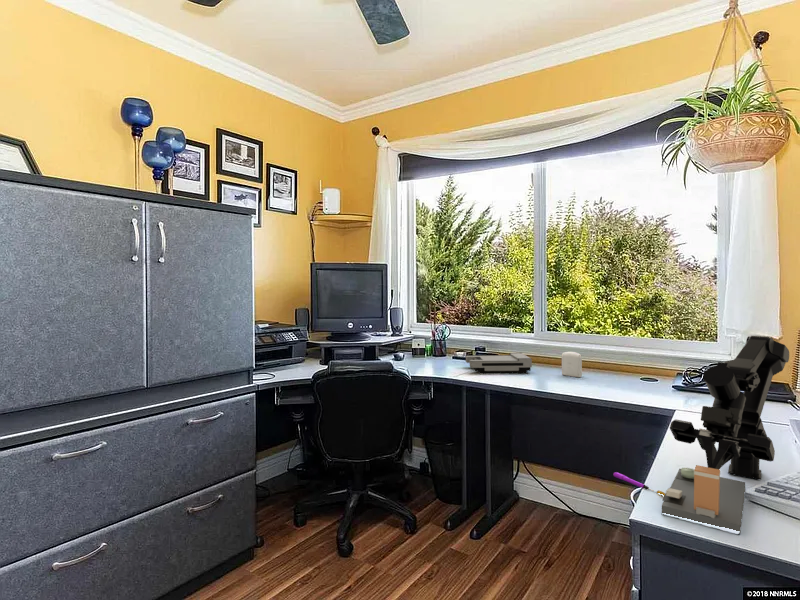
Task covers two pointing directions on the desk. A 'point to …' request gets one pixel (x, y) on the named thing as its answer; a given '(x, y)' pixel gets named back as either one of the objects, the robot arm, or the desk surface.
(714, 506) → the fader knob
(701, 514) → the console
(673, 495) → the block
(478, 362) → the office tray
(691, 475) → the push button
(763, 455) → the robot arm
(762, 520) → the desk surface
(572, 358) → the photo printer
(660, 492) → the purple screwdriver
